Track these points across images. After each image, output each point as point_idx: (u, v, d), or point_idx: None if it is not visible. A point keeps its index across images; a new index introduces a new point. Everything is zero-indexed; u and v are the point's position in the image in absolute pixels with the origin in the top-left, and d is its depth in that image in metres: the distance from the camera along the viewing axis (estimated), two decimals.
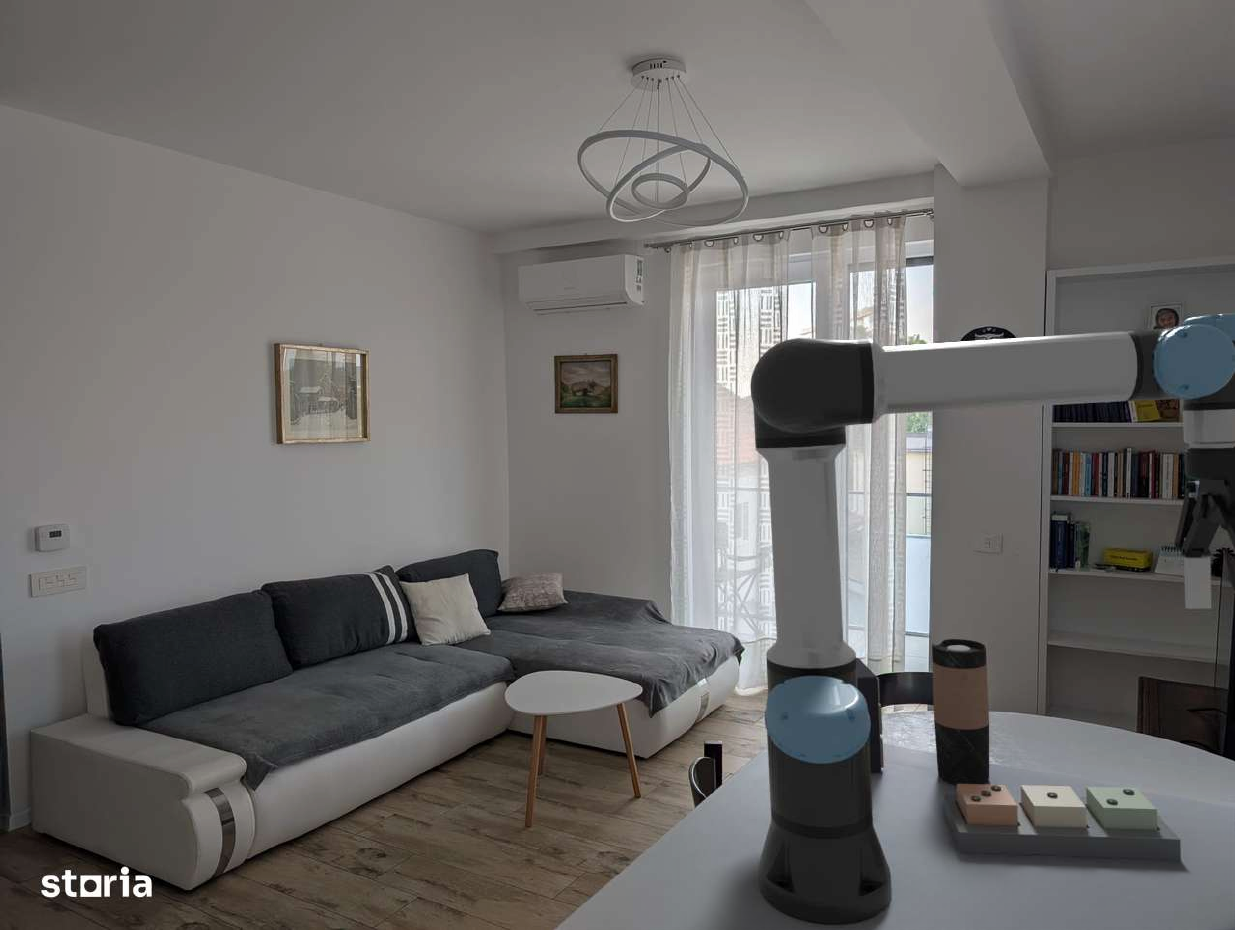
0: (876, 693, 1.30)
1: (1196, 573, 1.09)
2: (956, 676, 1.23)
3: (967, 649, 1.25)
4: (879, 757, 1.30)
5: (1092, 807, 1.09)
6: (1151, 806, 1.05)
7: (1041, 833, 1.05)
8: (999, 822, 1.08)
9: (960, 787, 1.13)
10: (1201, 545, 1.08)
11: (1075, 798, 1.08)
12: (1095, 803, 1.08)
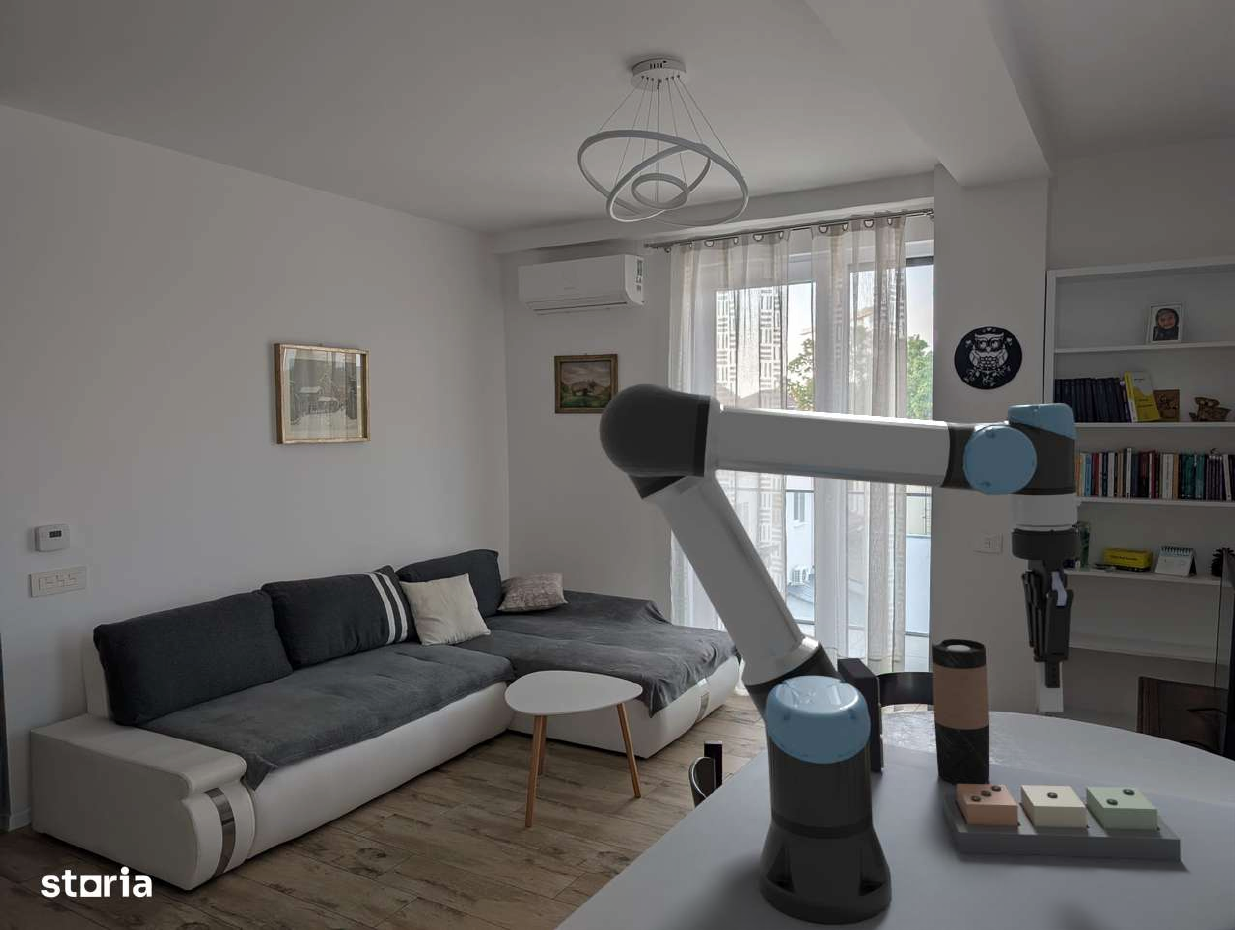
0: (876, 693, 1.30)
1: None
2: (956, 676, 1.23)
3: (967, 649, 1.25)
4: (879, 757, 1.30)
5: (1092, 807, 1.09)
6: (1151, 806, 1.05)
7: (1041, 833, 1.05)
8: (999, 822, 1.08)
9: (960, 787, 1.13)
10: None
11: (1075, 798, 1.08)
12: (1095, 803, 1.08)
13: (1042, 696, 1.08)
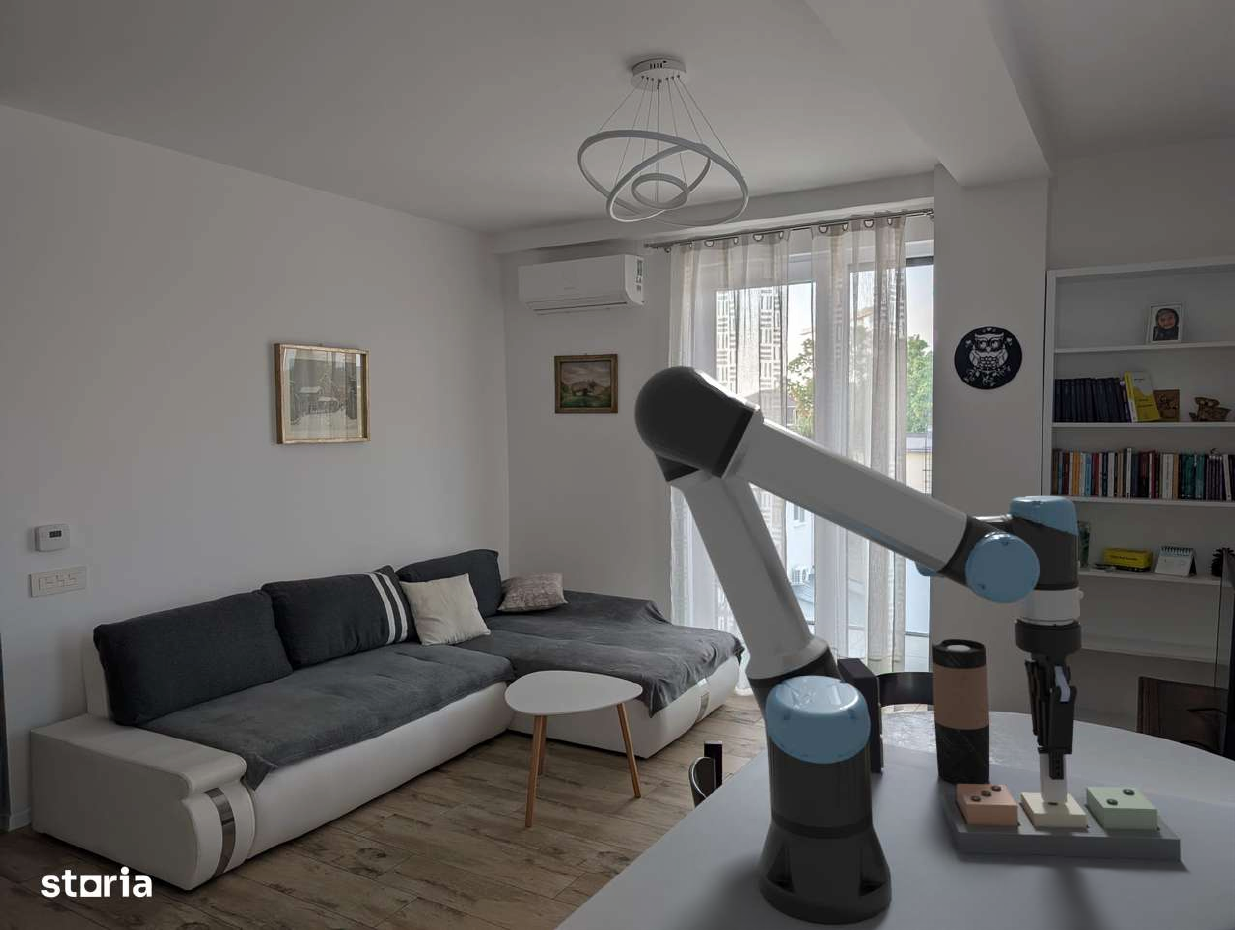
0: (876, 693, 1.30)
1: None
2: (956, 676, 1.23)
3: (967, 649, 1.25)
4: (879, 757, 1.30)
5: (1092, 807, 1.09)
6: (1151, 806, 1.05)
7: (1041, 833, 1.05)
8: (999, 822, 1.08)
9: (960, 787, 1.13)
10: None
11: (1075, 805, 1.08)
12: (1095, 803, 1.08)
13: (1046, 787, 1.08)
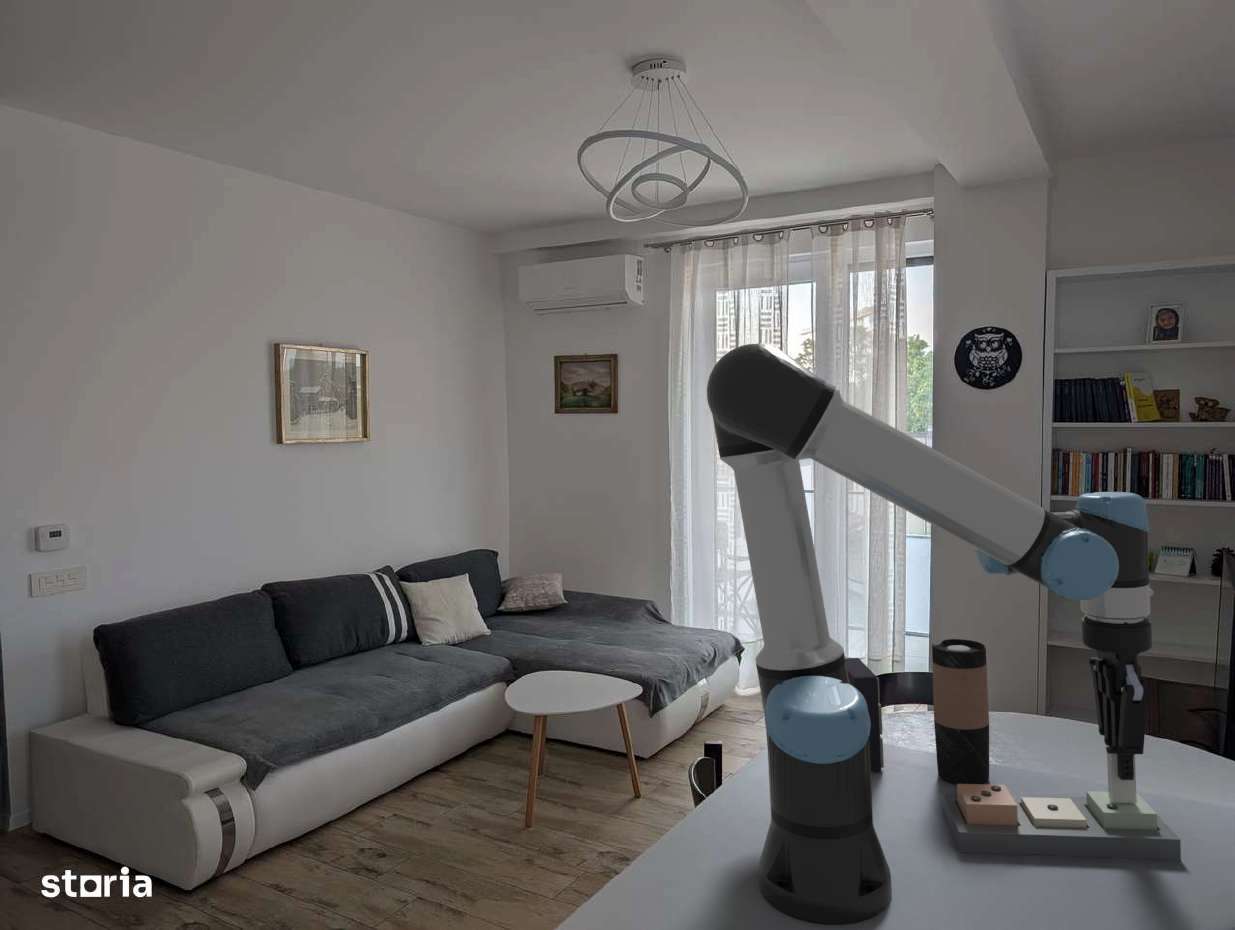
0: (876, 693, 1.30)
1: None
2: (956, 676, 1.23)
3: (967, 649, 1.25)
4: (879, 757, 1.30)
5: (1092, 811, 1.09)
6: (1151, 811, 1.05)
7: (1041, 833, 1.05)
8: (999, 822, 1.08)
9: (960, 787, 1.13)
10: None
11: (1075, 810, 1.08)
12: (1095, 807, 1.08)
13: (1115, 787, 1.07)
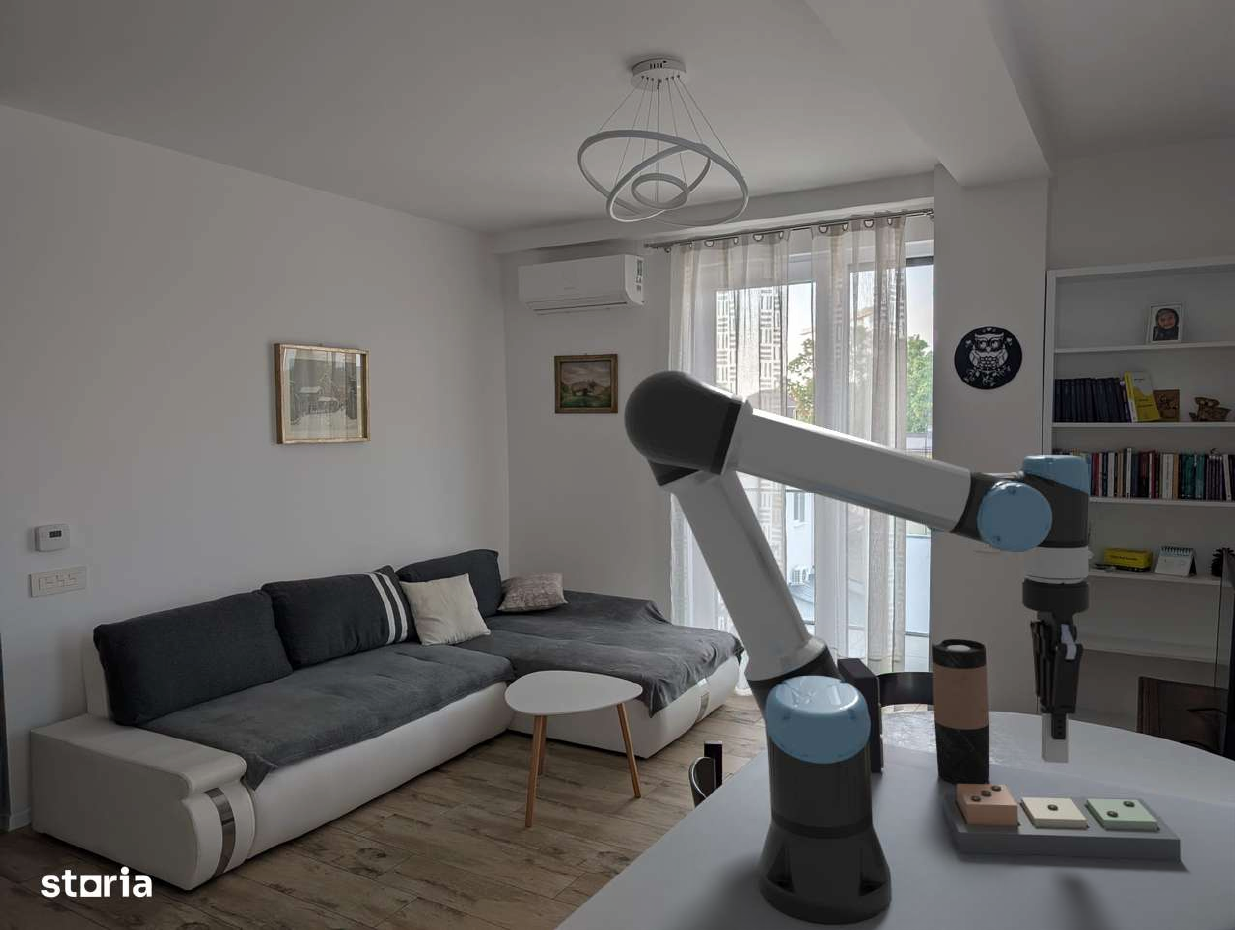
0: (876, 693, 1.30)
1: None
2: (956, 676, 1.23)
3: (967, 649, 1.25)
4: (879, 757, 1.30)
5: None
6: (1151, 818, 1.05)
7: (1041, 833, 1.05)
8: (999, 822, 1.08)
9: (960, 787, 1.13)
10: None
11: (1075, 810, 1.08)
12: (1095, 815, 1.08)
13: (1047, 747, 1.08)
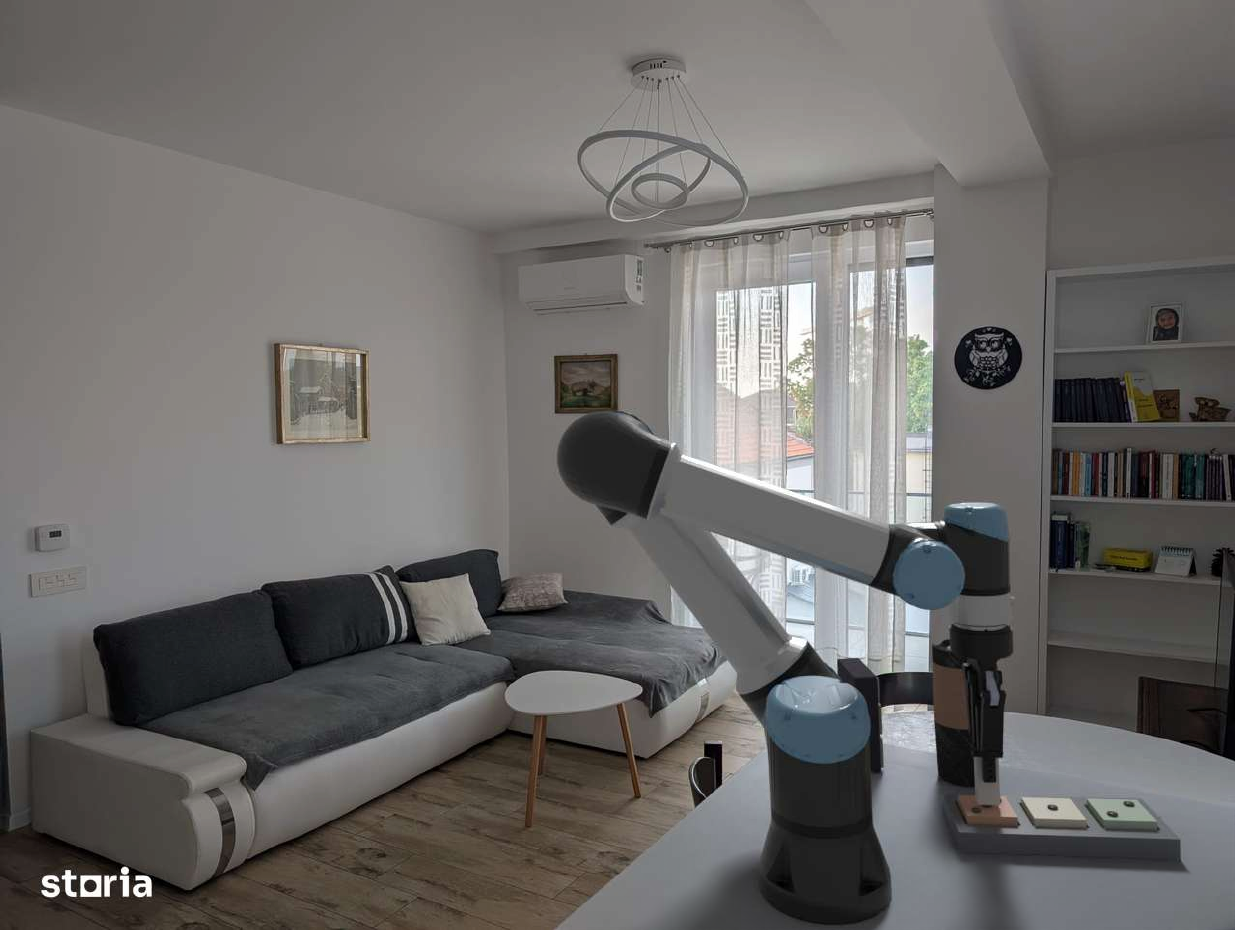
0: (876, 693, 1.30)
1: None
2: (956, 676, 1.23)
3: None
4: (879, 757, 1.30)
5: None
6: (1151, 818, 1.05)
7: (1041, 833, 1.05)
8: None
9: (961, 798, 1.13)
10: None
11: (1075, 810, 1.08)
12: (1095, 815, 1.08)
13: (979, 790, 1.10)
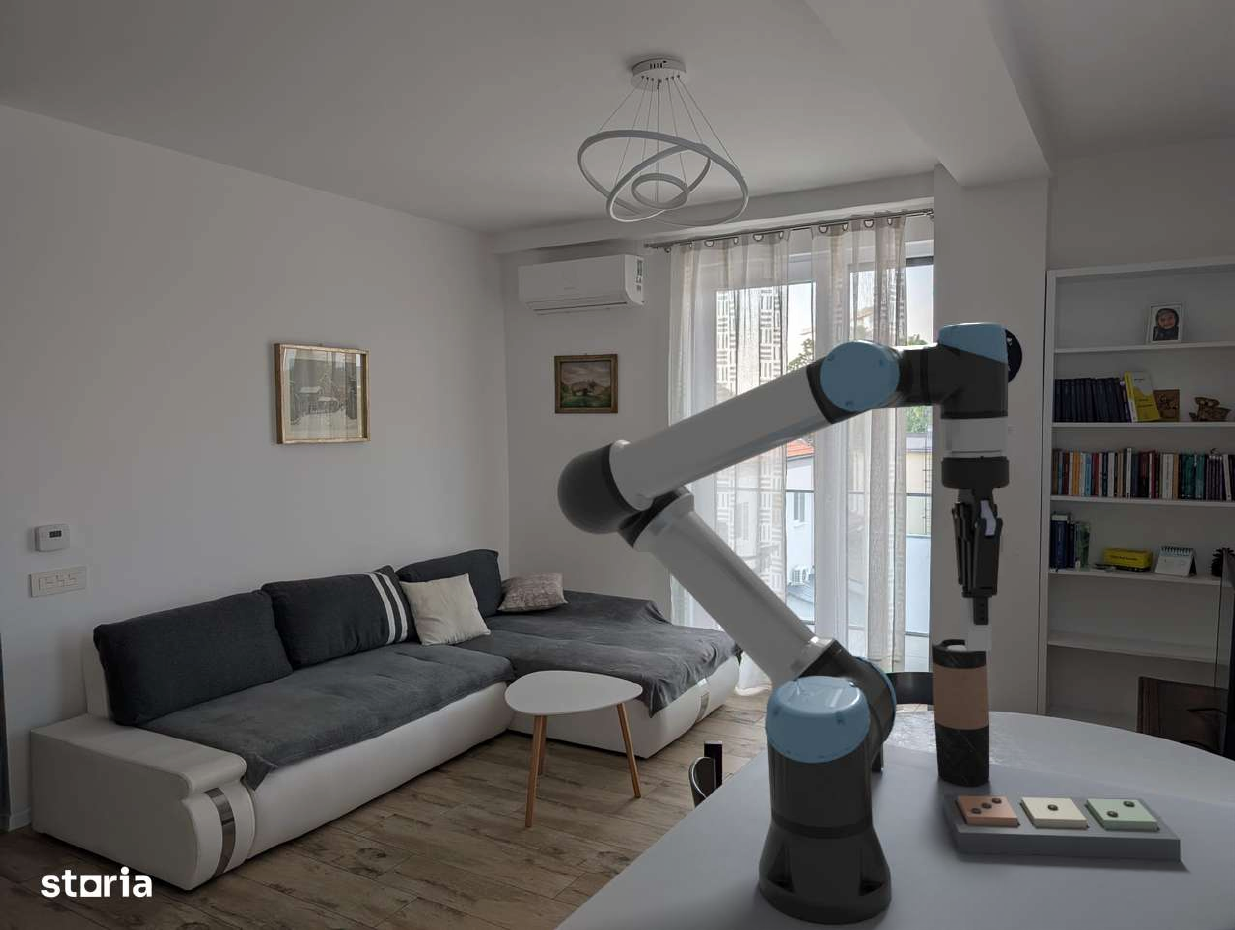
0: None
1: None
2: (956, 676, 1.23)
3: None
4: (879, 757, 1.30)
5: None
6: (1151, 818, 1.05)
7: (1041, 833, 1.05)
8: None
9: (961, 798, 1.13)
10: None
11: (1075, 810, 1.08)
12: (1095, 815, 1.08)
13: (970, 635, 1.02)
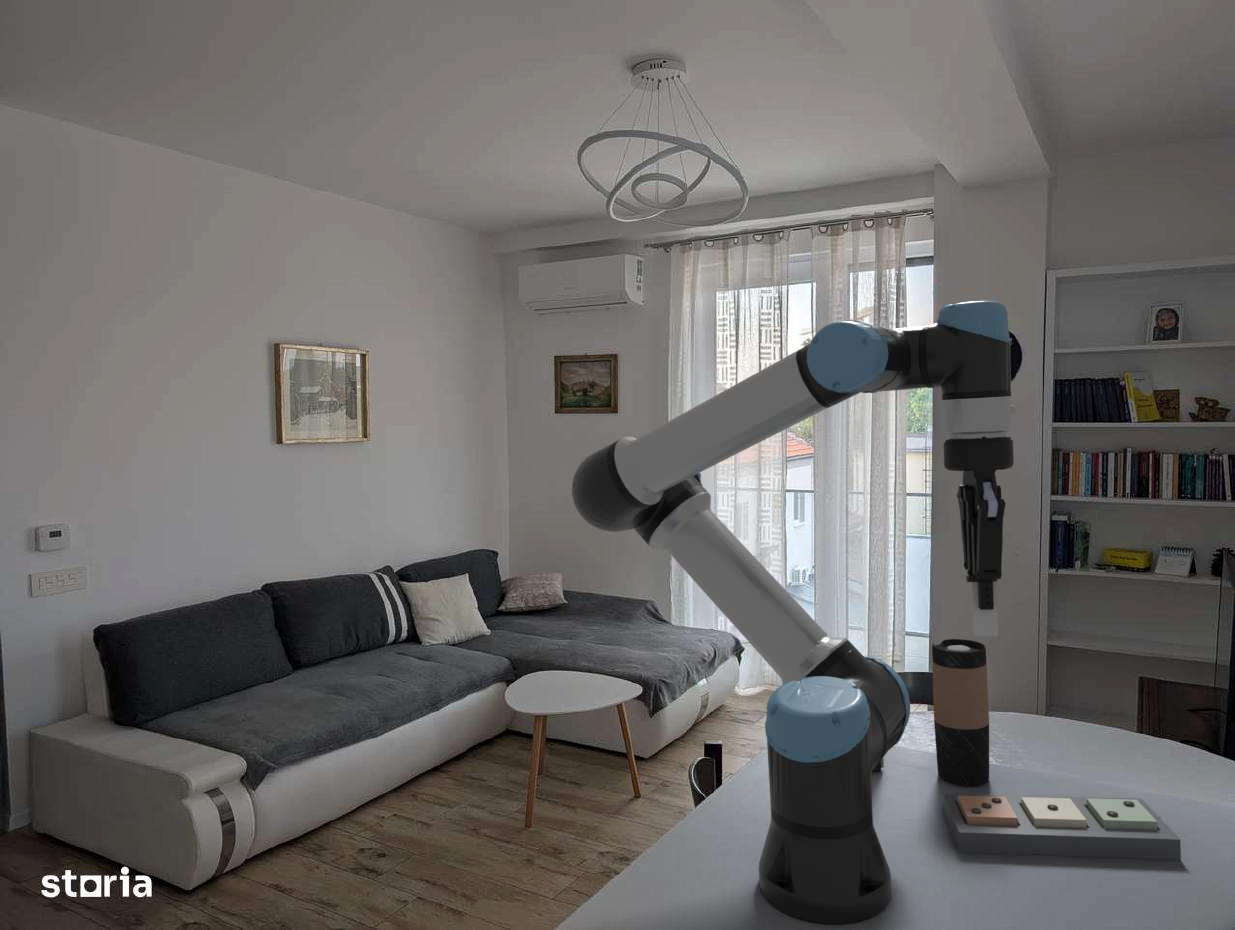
0: None
1: None
2: (956, 676, 1.23)
3: (967, 649, 1.25)
4: None
5: None
6: (1151, 818, 1.05)
7: (1041, 833, 1.05)
8: None
9: (961, 798, 1.13)
10: None
11: (1075, 810, 1.08)
12: (1095, 815, 1.08)
13: (975, 620, 1.00)
